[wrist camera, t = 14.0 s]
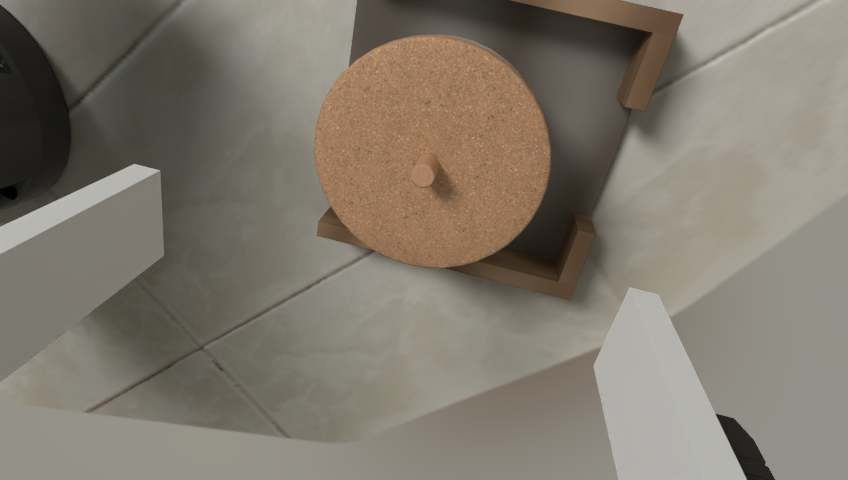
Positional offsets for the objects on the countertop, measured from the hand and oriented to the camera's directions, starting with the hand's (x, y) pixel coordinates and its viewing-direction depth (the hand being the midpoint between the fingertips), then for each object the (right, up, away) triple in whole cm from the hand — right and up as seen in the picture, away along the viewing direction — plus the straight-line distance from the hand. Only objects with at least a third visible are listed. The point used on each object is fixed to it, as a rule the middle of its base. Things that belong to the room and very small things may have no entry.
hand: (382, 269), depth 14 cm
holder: (+4, +7, +16) cm, 18 cm away
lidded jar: (+3, +8, +16) cm, 18 cm away
